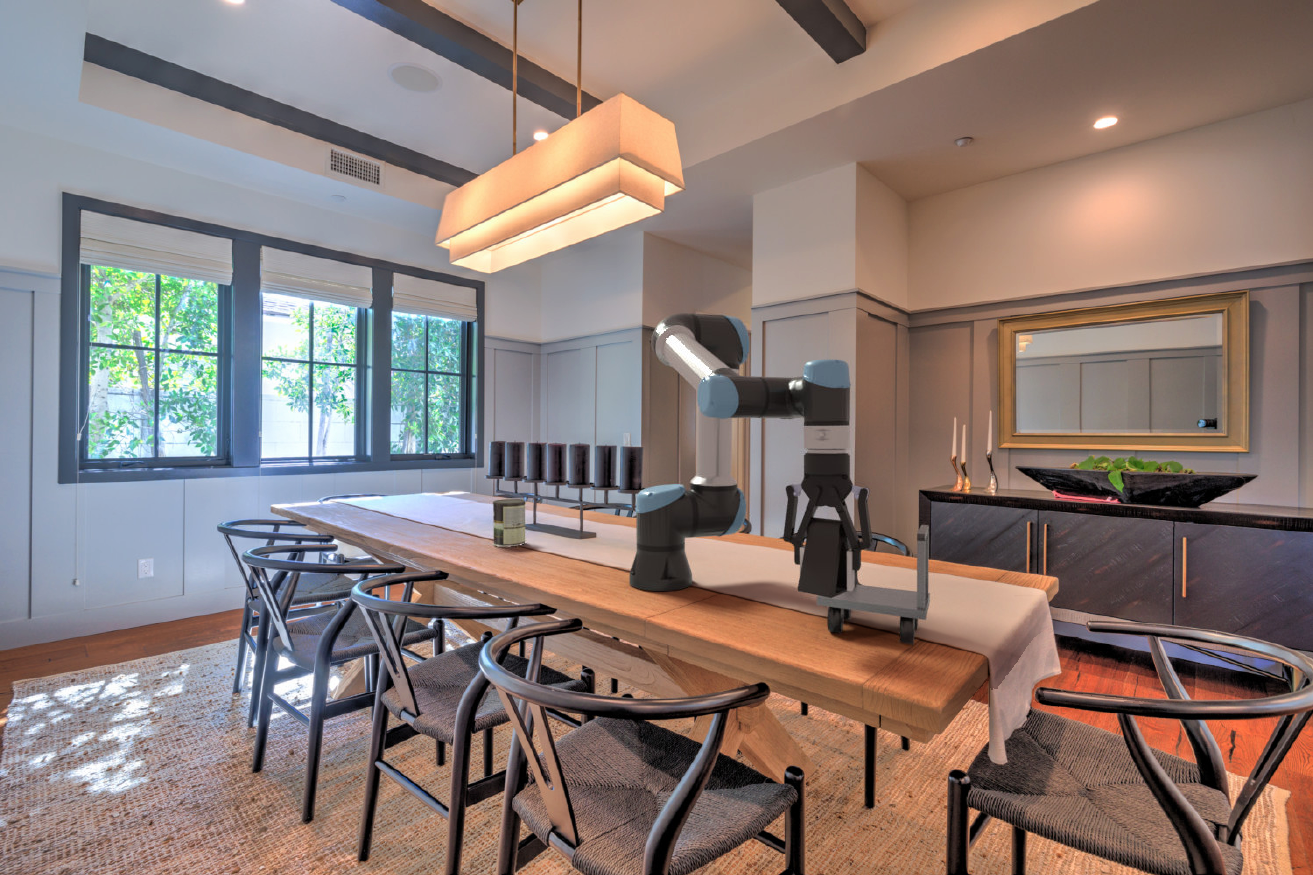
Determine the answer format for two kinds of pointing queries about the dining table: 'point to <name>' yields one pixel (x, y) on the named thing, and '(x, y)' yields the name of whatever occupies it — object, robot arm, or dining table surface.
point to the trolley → (887, 598)
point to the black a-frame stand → (824, 559)
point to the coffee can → (509, 522)
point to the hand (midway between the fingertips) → (827, 586)
